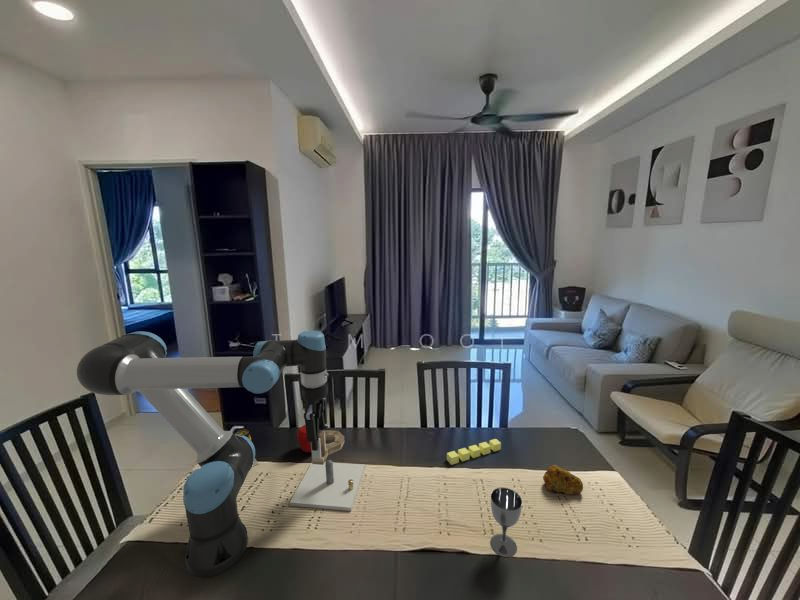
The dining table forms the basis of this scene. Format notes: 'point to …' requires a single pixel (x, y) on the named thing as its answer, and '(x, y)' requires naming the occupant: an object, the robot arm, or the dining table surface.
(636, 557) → the dining table surface
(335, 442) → the tan nut with handle
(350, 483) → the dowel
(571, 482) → the brown lumpy piece
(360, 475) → the board
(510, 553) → the wine glass
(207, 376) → the robot arm
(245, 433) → the condiment
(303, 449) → the apple
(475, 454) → the yellow cube row
